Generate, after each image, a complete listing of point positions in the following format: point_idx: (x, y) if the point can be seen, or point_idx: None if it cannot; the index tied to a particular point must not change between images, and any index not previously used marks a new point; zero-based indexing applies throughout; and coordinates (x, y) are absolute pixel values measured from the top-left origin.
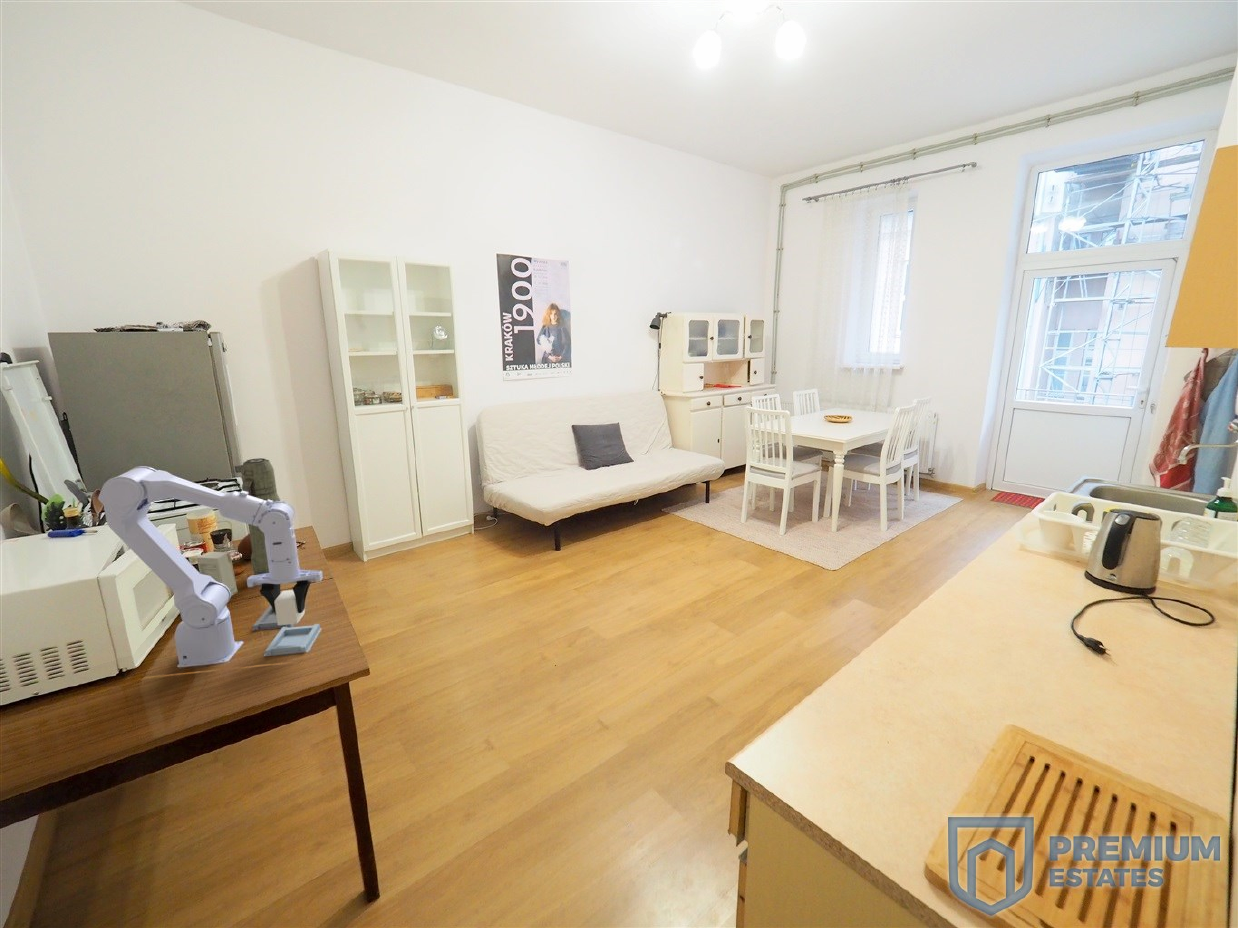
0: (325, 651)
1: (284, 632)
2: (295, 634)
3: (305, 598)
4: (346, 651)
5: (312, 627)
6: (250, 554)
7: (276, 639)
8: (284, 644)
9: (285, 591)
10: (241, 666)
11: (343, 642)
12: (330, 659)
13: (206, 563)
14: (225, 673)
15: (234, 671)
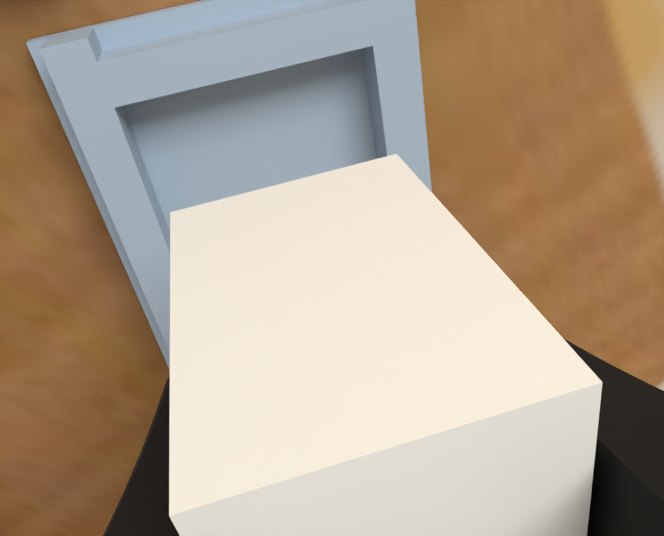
0: (531, 256)
1: (122, 119)
2: (216, 87)
3: (589, 360)
4: (651, 243)
5: (368, 43)
6: None
7: (158, 262)
8: None
9: (264, 527)
10: (97, 442)
11: (620, 151)
12: (579, 319)
13: None
14: (58, 498)
15: (96, 478)
